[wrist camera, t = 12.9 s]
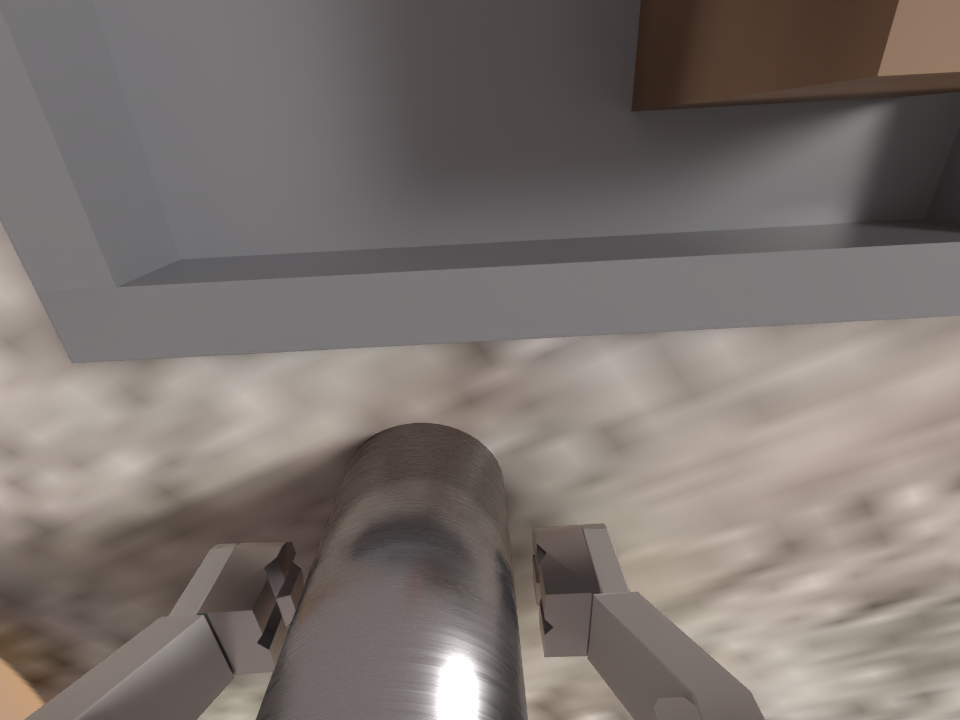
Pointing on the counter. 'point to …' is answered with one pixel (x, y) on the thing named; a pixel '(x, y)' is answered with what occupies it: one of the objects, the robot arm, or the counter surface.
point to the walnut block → (793, 51)
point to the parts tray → (438, 182)
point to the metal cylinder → (408, 592)
